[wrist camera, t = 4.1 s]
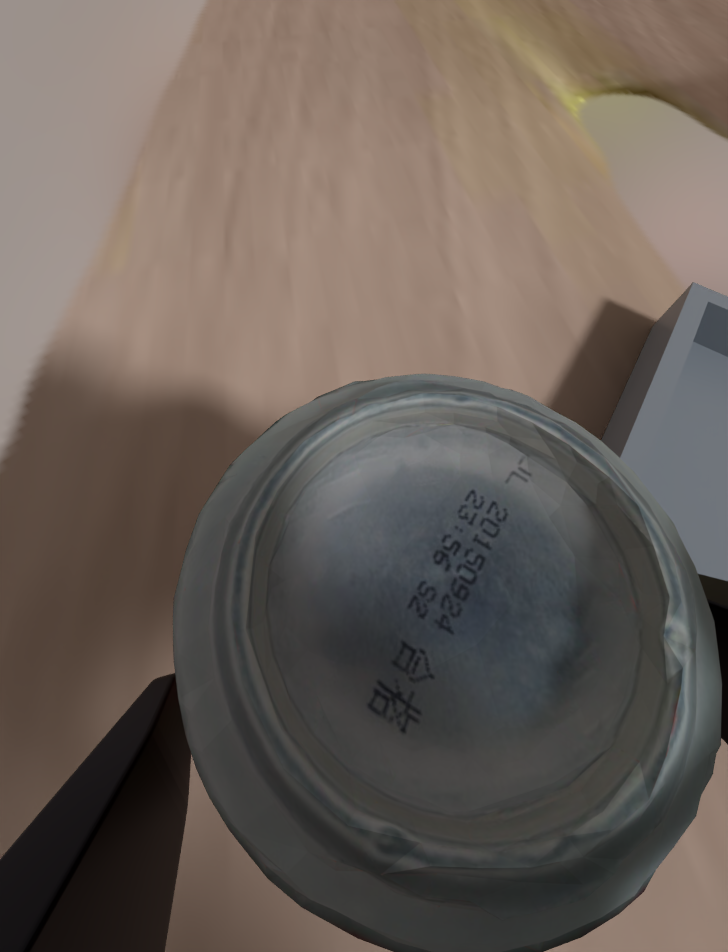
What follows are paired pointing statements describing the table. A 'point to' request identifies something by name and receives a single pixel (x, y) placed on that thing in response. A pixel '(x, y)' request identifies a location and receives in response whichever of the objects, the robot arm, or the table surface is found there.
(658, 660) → the soda can
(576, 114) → the table surface
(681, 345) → the slate tray
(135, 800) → the robot arm
